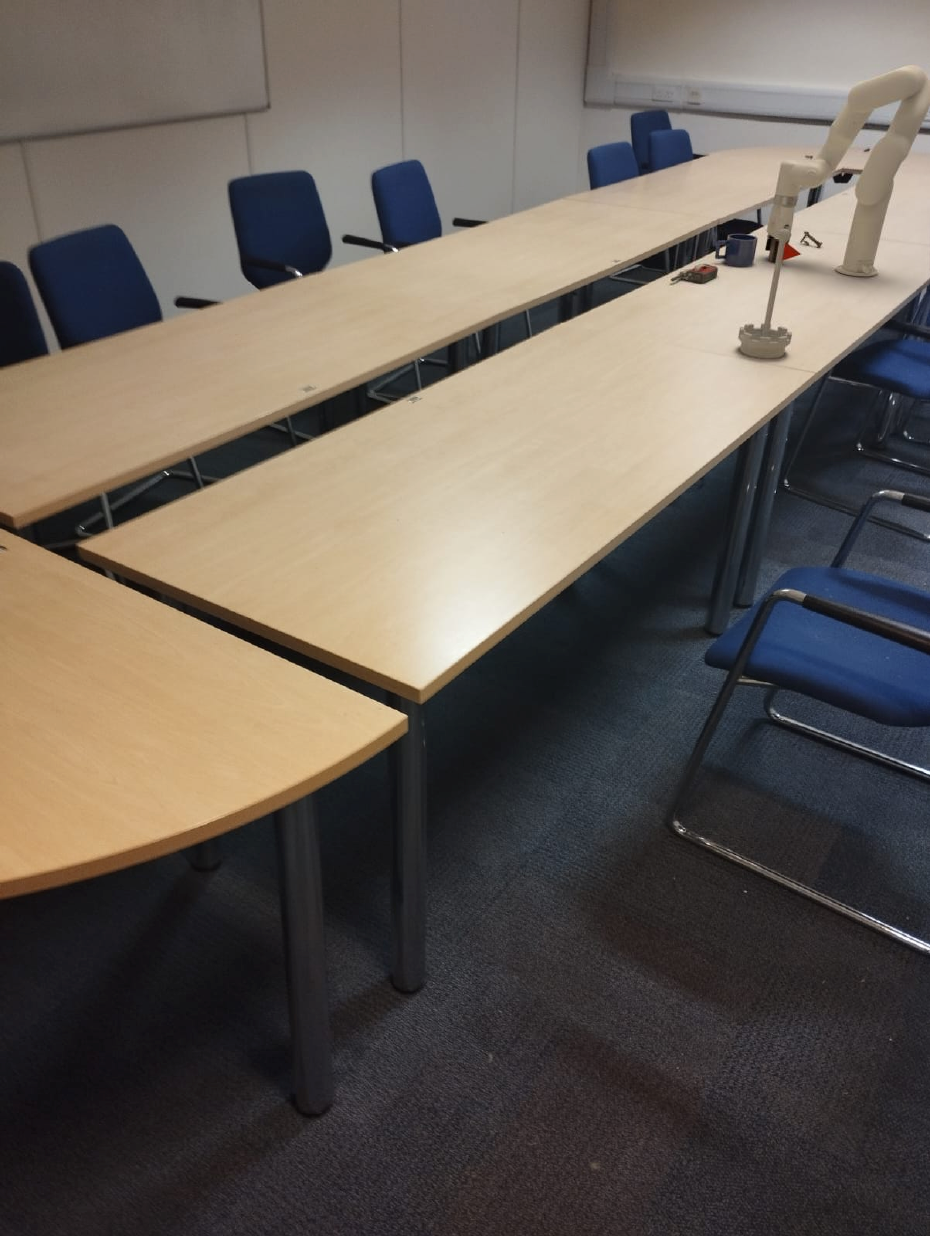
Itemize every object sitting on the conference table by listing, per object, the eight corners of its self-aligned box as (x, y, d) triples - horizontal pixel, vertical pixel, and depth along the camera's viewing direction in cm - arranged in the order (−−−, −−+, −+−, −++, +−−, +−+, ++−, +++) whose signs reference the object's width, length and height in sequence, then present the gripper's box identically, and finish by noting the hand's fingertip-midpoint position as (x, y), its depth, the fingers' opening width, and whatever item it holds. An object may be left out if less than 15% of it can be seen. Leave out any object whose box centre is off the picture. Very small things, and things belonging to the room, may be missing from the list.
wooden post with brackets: (799, 240, 358) (806, 229, 354) (816, 253, 355) (823, 242, 352) (797, 240, 357) (804, 229, 353) (813, 253, 354) (820, 242, 351)
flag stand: (727, 352, 250) (748, 229, 234) (748, 340, 259) (770, 220, 243) (775, 363, 244) (800, 237, 227) (796, 350, 252) (821, 228, 236)
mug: (747, 259, 335) (751, 233, 330) (757, 266, 327) (762, 240, 322) (709, 260, 334) (713, 233, 329) (718, 267, 325) (722, 240, 321)
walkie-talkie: (694, 271, 320) (667, 284, 306) (696, 257, 317) (669, 269, 303) (719, 276, 315) (693, 288, 302) (721, 261, 313) (695, 274, 299)
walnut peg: (781, 262, 333) (785, 240, 329) (771, 262, 333) (775, 240, 329) (777, 259, 336) (781, 238, 332) (768, 259, 335) (771, 238, 332)
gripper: (765, 195, 330) (755, 247, 340) (784, 205, 316) (773, 260, 326) (786, 195, 331) (776, 248, 341) (806, 206, 317) (795, 260, 326)
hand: (774, 254), depth 333 cm, fingers open, 9 cm apart
